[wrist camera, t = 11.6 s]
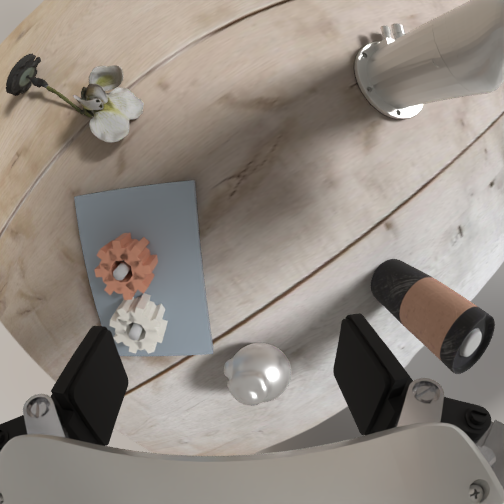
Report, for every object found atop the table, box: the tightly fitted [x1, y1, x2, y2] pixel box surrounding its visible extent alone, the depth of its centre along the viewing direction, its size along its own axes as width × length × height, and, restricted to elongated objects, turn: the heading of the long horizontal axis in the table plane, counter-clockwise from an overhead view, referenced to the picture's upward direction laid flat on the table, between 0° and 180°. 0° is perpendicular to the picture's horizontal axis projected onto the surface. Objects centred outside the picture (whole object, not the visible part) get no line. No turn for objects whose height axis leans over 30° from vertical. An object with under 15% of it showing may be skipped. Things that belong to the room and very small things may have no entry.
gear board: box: [74, 180, 213, 356], centre depth 32 cm, size 24×16×6 cm, turn 3°
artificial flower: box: [6, 53, 144, 142], centre depth 24 cm, size 9×22×10 cm, turn 55°
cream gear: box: [109, 293, 168, 354], centre depth 33 cm, size 7×7×4 cm
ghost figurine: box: [224, 343, 291, 406], centre depth 36 cm, size 9×10×10 cm
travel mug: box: [371, 259, 495, 374], centre depth 30 cm, size 8×8×20 cm
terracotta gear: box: [94, 233, 158, 300], centre depth 31 cm, size 7×7×4 cm
